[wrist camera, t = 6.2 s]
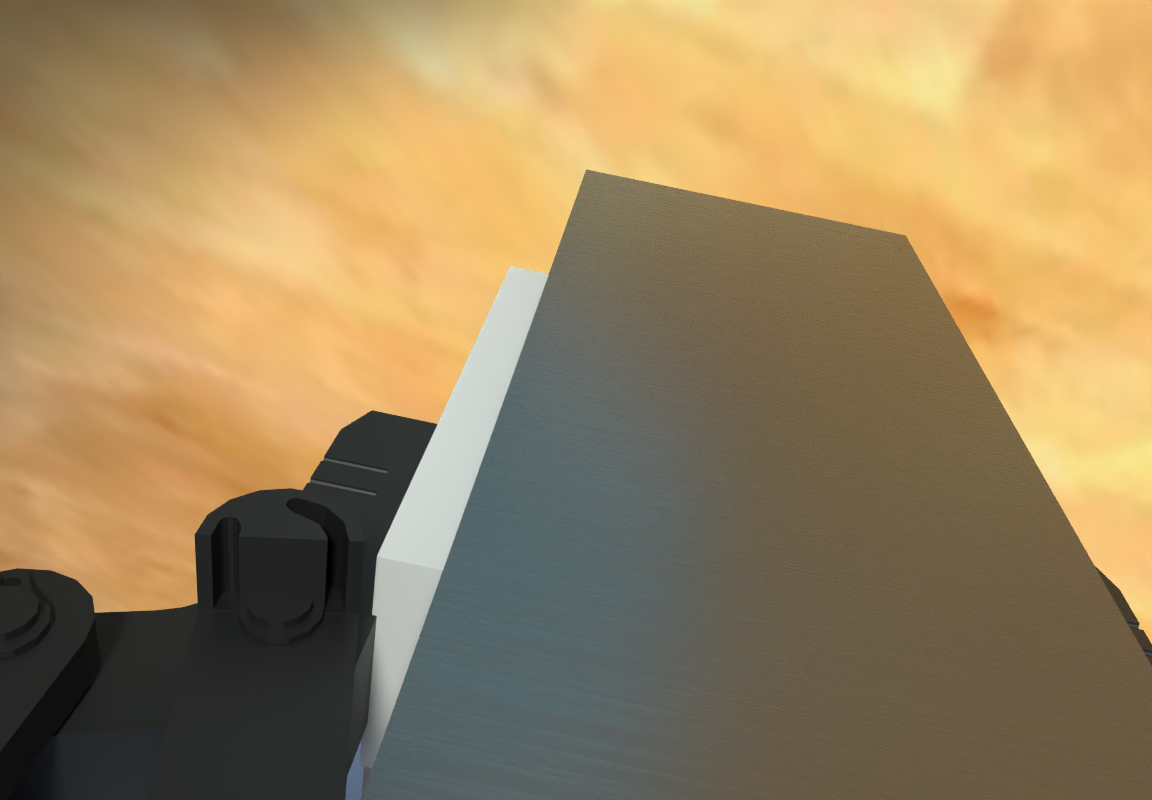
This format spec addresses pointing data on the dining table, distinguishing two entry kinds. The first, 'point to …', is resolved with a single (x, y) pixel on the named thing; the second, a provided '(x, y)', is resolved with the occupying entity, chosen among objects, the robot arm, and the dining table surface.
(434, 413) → the dining table surface
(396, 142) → the dining table surface
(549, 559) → the grey block with bar
